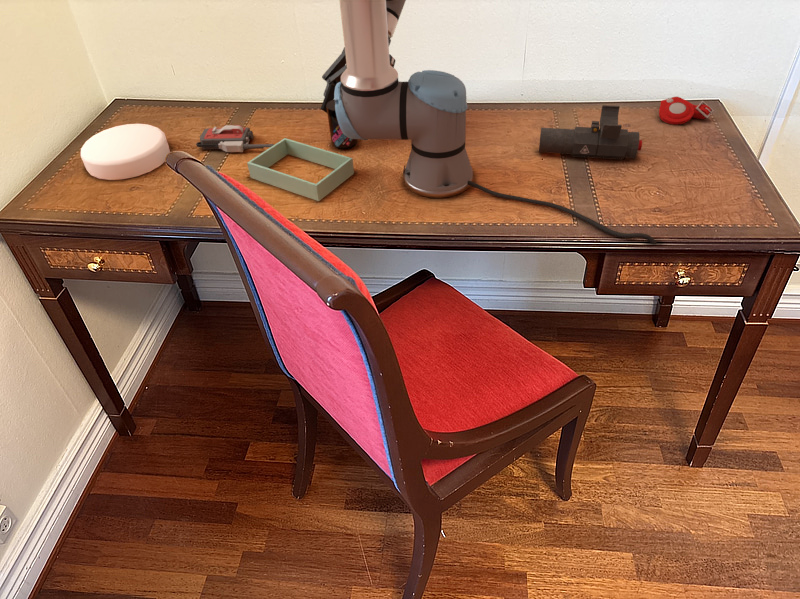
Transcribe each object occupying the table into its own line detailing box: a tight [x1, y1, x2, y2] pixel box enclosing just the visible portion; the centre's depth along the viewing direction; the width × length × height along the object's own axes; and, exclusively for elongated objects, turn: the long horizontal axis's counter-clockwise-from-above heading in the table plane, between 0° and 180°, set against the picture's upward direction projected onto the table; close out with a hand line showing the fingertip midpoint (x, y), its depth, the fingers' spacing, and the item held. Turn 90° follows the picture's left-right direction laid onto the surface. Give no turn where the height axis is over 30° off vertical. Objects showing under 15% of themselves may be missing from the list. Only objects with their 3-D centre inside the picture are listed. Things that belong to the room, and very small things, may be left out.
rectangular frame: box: [246, 137, 355, 202], centre depth 143 cm, size 20×13×4 cm, turn 57°
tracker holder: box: [658, 96, 715, 126], centre depth 156 cm, size 12×4×10 cm
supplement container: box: [326, 100, 359, 151], centre depth 151 cm, size 7×7×10 cm
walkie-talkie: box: [195, 124, 275, 153], centre depth 155 cm, size 9×4×20 cm
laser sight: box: [538, 104, 643, 161], centre depth 142 cm, size 10×22×10 cm, turn 78°
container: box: [80, 123, 171, 181], centre depth 153 cm, size 20×20×5 cm
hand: (346, 117), depth 151 cm, fingers open, 13 cm apart
